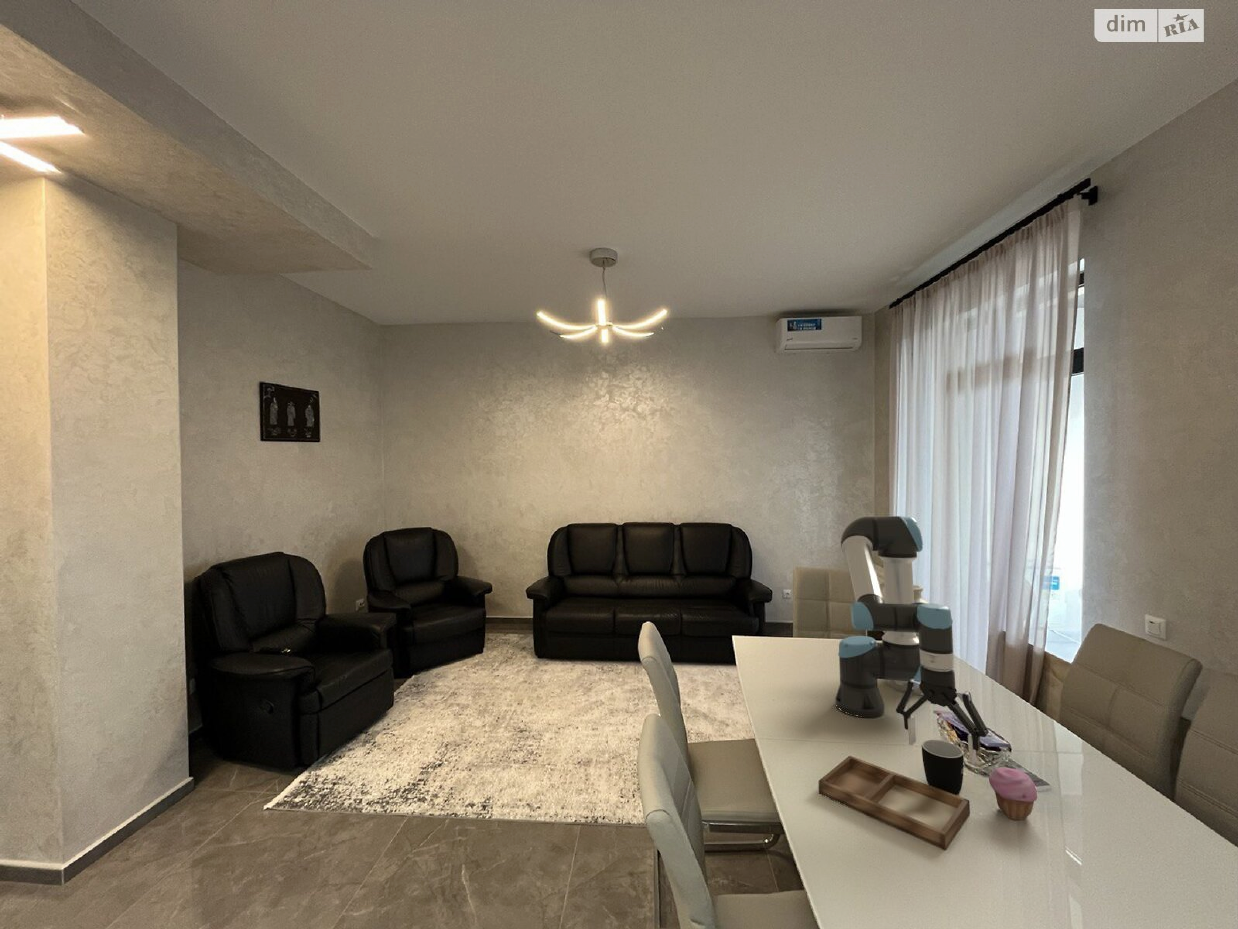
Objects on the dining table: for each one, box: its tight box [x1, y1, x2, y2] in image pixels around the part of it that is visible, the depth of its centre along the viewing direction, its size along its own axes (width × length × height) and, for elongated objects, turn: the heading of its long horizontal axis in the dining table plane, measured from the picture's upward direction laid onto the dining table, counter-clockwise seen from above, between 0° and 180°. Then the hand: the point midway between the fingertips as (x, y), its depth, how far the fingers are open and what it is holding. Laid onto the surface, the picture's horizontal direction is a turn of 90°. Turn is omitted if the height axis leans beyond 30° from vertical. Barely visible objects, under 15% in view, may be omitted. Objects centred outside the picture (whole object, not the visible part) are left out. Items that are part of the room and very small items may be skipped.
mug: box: [921, 739, 965, 796], centre depth 133 cm, size 12×9×10 cm
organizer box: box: [818, 755, 971, 851], centre depth 127 cm, size 28×17×3 cm, turn 42°
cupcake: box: [988, 766, 1038, 821], centre depth 121 cm, size 9×9×10 cm
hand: (941, 752), depth 133 cm, fingers open, 13 cm apart
